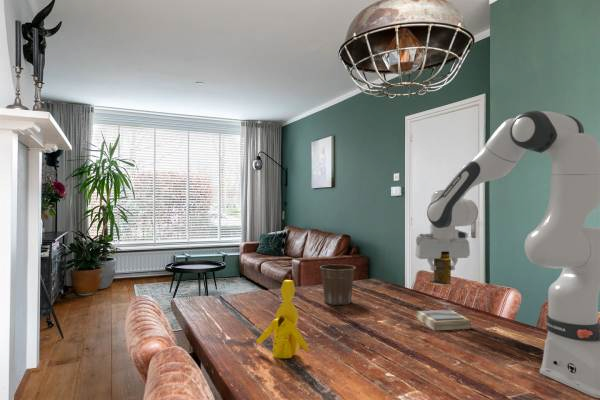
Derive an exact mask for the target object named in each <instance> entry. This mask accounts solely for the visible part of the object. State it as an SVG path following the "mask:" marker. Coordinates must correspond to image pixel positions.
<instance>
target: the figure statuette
mask: <svg viewBox="0 0 600 400" xmlns="http://www.w3.org/2000/svg"><path fill="white" fill-rule="evenodd" d="M281 284H282V285H281V287H280V293H281V297H282V304H281V305H280V306H279V307H278V308H277V311H276V313H275V316H276V317H275V319H273V320H272V321H271V323H270V325H269V326H268V327H267V328H266V329H265V330H264V331H263V332H262V334H261V335H260V336H259V337H258V339H257V340H256V341H255V343H257V344H259V345H261V344H262V343H263V342H264V341H266V339H267V338H268V337H269V336H271V335H272V333H273V345H272V357H273V358H275V359H282V360H283V359H291V358H292V357H293V356H295V355H296V354H298V352H299V350H300V347H301V348H302V349H303V350H304V352H306V353H307V352H309V351H310V349H309V347H308V345H307V343H306V341H305V339H304V338H303V336H302V334H301V333H300V331H299V329H298V327H297V326H298V321H299V311H298V309H297V307H296V306H295V304H294V303H293V299H294V296H295V293H296V287H295V282H294V280H291V279H285V280H283V281H282V283H281Z"/></svg>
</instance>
